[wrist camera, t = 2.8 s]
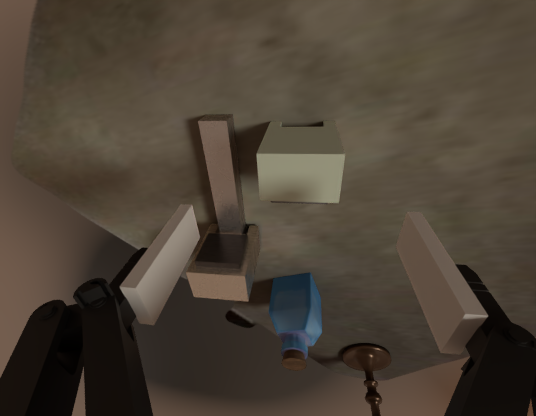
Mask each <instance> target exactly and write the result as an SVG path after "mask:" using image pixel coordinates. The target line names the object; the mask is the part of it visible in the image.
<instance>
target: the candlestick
mask: <svg viewBox="0 0 536 416" xmlns="http://www.w3.org/2000/svg"><path fill="white" fill-rule="evenodd" d="M342 354H343V361H344V363H345V364H346V365H347V366H349V367H351V368H353V369H356V370H361V371H365V375H366V380H365V381H364V385H365V386H366V387H367V390H368V392H367V393H366V396H365V400H366V402H367V403H369V404H370V405H371V411H372V416H381V415H380V410H379V404H381V403H382V398H381V396H380V395H379V393H377V391H376V387H377V386H378V383H377V381H375V380H374V377H373V372H372V371H376V370H381V369H384V368H386V367H387V366H389V365H390V363H391V357H390V353H389V351H388V350H387V349H385V348H384V347H382V346H379V345H376V344H370V343H359V344H354V345H351V346H349V347H347V348H346V349H344V351H343V353H342Z"/></svg>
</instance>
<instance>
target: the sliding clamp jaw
mask: <svg viewBox="0 0 536 416" xmlns="http://www.w3.org/2000/svg"><path fill="white" fill-rule="evenodd" d="M344 159H345V152H344V149H343V146H342V142H341V139H340V136H339V132H338V129H337V126H336V122H335V121H323V127H282V121H270V124H269V126H268V128H267V131H266V133H265V135H264V138H263V140H262V142H261V144H260V147H259V149H258V151H257V167H258V180H259V194H260V201H271V202H276V203H305V204H328V203H339V197H340V190H341V182H342V174H343V167H344Z"/></svg>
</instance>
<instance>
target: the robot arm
mask: <svg viewBox="0 0 536 416" xmlns="http://www.w3.org/2000/svg"><path fill="white" fill-rule="evenodd" d="M199 239H200V235H199V231H198V227H197V223H196V219H195V215H194V211H193V207H192V205H183V204H181V205H180V206H179V207H178V209H177V210H176V212H175V213H174V214H173V216H172V217H171V218H170V220H169V221H168V222H167V224H166V225H165V226H164V228H163V229H162V230H161V232H160V233H159V234H158V236H157V237H156V238H155V240H154V241H153V242H152V244H151V245H150V246H149V248H141V249H140V250H138V251H137V252H136V253H135V254H133V255H132V257H131V258H130V259H129V261H128V263H126V264H125V266H124V267H123V269H121V271H120V272H119V273H118V274H117V276H116V277H115V278H114V279H113V281H112V282H111V283H110V284H109V285H108V283H107V281H106V280H105V279H103V278H95V279H92V280H89V281H87V282H85V283H83V284H82V285H81V286H80V287H78V289H77V290H76V291H75V293H74V296H73V298H74V299H75V301H76V302H77V303H78V304H74V305H69V306H66V304H65V303H64V302H63V301H62V300H52V301H50V302H47V303H45V304H43V305H42V306H40V307H39V308H38V309H36V310H35V311H34V312H33V314H32V315H31V316H30V318H29V320H28V322H27V324H26V326H25V328H24V330H23V332H22V334H21V336H20V338H19V340H18V343H17V345H16V347H15V349H14V351H13V353H12V355H11V357H10V359H9V361H8V363H7V366H6V368H5V370H4V372H3V374H2V376H1V378H0V416H72V412H73V408H74V403H75V399H76V395H77V391H78V387H79V383H80V379H81V374H82V370H83V366H84V380H85V381H84V382H85V409H86V416H153V413H152V408H151V403H150V399H149V394H148V390H147V386H146V381H145V376H144V372H143V368H142V363H141V358H140V355H139V350H138V345H137V340H136V336H135V331H134V327H133V325H132V322H133V320H134V319H135V317H136V318H137V319H138V321H139V323H140V324H150V325H154V324H155V322H156V320H157V318H158V316H159V315H160V313H161V311H162V309H163V307H164V305H165V303H166V301H167V299H168V298H169V296H170V294H171V292H172V290H173V288H174V286H175V284H176V282H177V280H178V279H179V277H180V275H181V273H182V271H183V269H184V267H185V265H186V263H187V261H188V260H189V258H190V256H191V254H192V252H193V250H194V248H195V246H196V244H197V242H198V241H199ZM396 249H397V251H398V253H399V256H400V258H401V260H402V263H403V265H404V267H405V270H406V272H407V275H408V277H409V279H410V282H411V284H412V286H413V289H414V291H415V293H416V296H417V298H418V300H419V303H420V305H421V308H422V310H423V312H424V315H425V317H426V319H427V322H428V324H429V326H430V329H431V331H432V333H433V336H434V338H435V341H436V343H437V345H438V348H439V350H440V352H441V353H450V354H461V352H462V351H463V350H464V348H465V347H466V348H467V350H468V352H469V354H470V358H469V359H468V360H467V362H466V363H465V364H464V365H463V367H462V368H461V370H463V372H462V375H461V377H460V380H459V382H458V384H457V387H456V389H455V391H454V394H453V396H452V399H451V401H450V403H449V406H448V408H447V410H446V413H445V415H444V416H527V413H528V408H529V404H530V399H531V400H532V407H533V413H534V416H536V338H535V337H534V336H533V335H532V334H531V333H530V332H529V331H527V330H525V329H524V328H522V327H521V326H519V325H516V324H514V323H512V322H511V321H510V320H509V319H508V317H507V316H506V314H505V313H504V312H503V310H502V309H501V307H500V306H499V305H498V303H497V302H496V300H495V299H494V298H493V296H492V295H491V293H489V292H488V289H487V288H486V286H485V285H483V282H482V281H481V279H480V278H479V277H478V275H477V274H476V273H475V272H474V271H473V270H471V269H470V268H469V267H468V266H466V265H457V264H454V262H453V261H452V259H451V258H450V256H449V254H448V253H447V251H446V250H445V248H444V247H443V245H442V244H441V242H440V241H439V239H438V238H437V236H436V234H435V233H434V231H433V230H432V228H431V227H430V225H429V224H428V222H427V221H426V219H425V218H424V216H423V215H422V213H421V212H407V213H406V216H405V219H404V222H403V225H402V229H401V232H400V235H399V238H398V241H397V245H396Z"/></svg>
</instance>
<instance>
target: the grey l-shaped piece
mask: <svg viewBox="0 0 536 416" xmlns="http://www.w3.org/2000/svg"><path fill="white" fill-rule="evenodd" d="M198 124H199V129H200V134H201V139H202V144H203V149H204V154H205V159H206V164H207V170H208V175H209V180H210V185H211V190H212V195H213V200H214V205H215V211H216V216H217V221H218V224H211V225H210V227H209V228H208V230H207V232H206V234H205V236H204V238H203V240H202V242H201V244H200V246H199V248H198V250H197V252H196V254H195V256H194V258H193V260H192V262H191V263H190V265H189V267H188V269H187V271H186V274H187V277H188V280H189V283H190V286H191V289H192V292H193V295H194V297H202V298H213V299H225V300H236V301H249V297H250V293H251V288H252V284H253V279H254V275H255V270H256V266H257V261H258V257H259V253H260V240H259V228H258V226H253V225H250V226H249V229H248V233H247V231H246V222H245V214H244V206H243V197H242V189H241V180H240V172H239V164H238V155H237V147H236V138H235V130H234V122H233V114H221V115H205V116H204V117H203V118H201V119H200V120H199V121H198Z"/></svg>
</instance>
